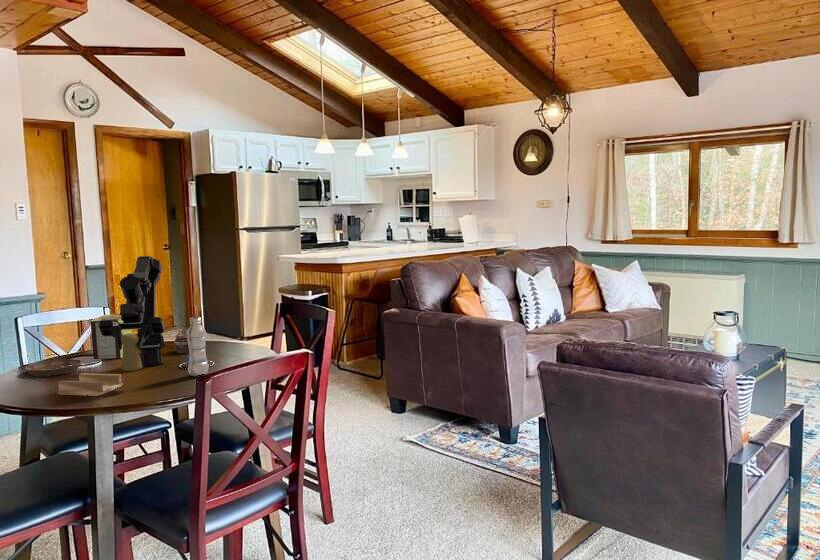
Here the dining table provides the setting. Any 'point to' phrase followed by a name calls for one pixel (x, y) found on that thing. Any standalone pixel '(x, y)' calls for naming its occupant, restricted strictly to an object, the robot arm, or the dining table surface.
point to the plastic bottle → (196, 347)
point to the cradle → (90, 384)
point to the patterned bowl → (188, 361)
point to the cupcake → (182, 341)
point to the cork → (130, 352)
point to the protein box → (106, 339)
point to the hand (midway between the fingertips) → (129, 348)
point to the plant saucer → (39, 367)
